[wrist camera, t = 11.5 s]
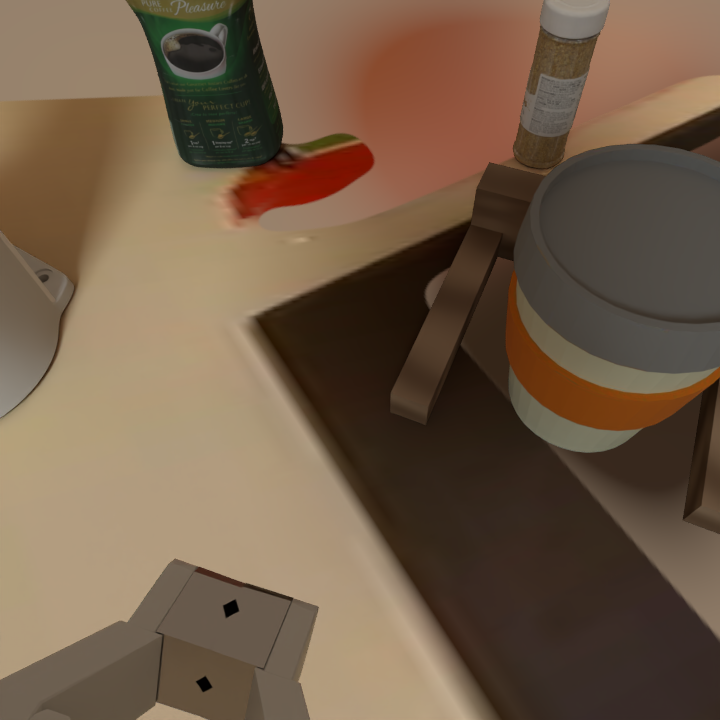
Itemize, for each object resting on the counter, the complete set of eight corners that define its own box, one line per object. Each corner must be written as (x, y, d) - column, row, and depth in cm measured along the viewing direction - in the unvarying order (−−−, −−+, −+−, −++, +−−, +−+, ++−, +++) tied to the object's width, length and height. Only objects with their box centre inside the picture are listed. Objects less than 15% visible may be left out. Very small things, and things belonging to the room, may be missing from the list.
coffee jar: (287, 117, 58) (252, -117, 42) (280, 172, 53) (237, -66, 38) (188, 119, 58) (116, -112, 43) (172, 174, 54) (87, -61, 38)
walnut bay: (728, 537, 35) (786, 500, 30) (390, 412, 40) (391, 362, 35) (755, 298, 44) (803, 240, 39) (478, 222, 49) (489, 162, 44)
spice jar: (519, 133, 55) (553, -25, 44) (569, 144, 54) (617, -15, 43) (505, 164, 53) (538, 5, 42) (557, 176, 52) (605, 16, 41)
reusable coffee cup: (509, 296, 45) (558, 118, 32) (686, 348, 42) (815, 174, 29) (456, 437, 39) (490, 284, 26) (658, 510, 36) (806, 378, 23)
